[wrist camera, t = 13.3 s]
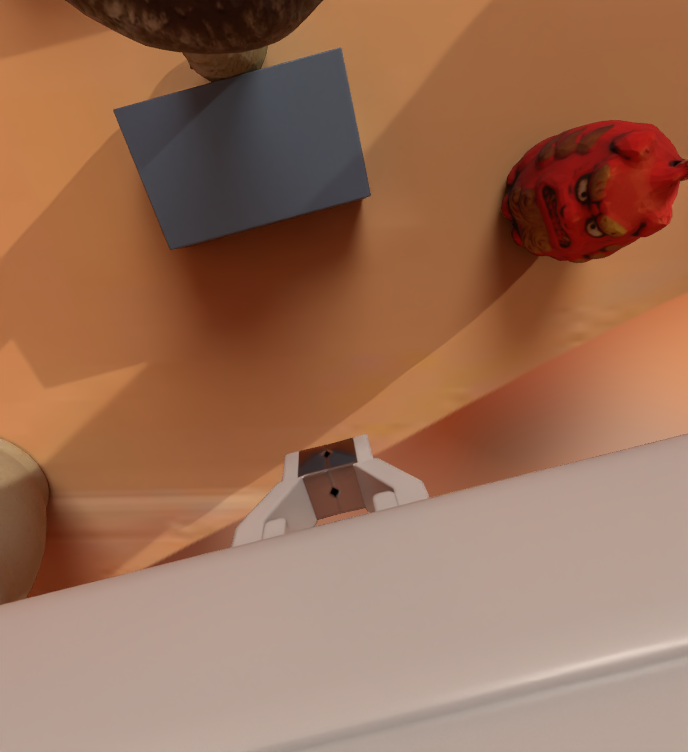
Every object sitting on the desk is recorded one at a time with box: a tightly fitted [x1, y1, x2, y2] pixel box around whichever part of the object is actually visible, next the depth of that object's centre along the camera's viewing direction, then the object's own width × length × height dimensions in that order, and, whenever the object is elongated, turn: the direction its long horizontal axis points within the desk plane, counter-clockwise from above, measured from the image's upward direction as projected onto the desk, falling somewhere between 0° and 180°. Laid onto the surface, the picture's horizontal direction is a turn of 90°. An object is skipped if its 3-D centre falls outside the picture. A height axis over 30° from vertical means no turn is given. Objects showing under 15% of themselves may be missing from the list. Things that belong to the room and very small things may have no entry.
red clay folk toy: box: [501, 120, 688, 263], centre depth 19 cm, size 8×7×15 cm
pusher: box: [113, 48, 371, 250], centre depth 22 cm, size 12×7×4 cm, turn 104°
